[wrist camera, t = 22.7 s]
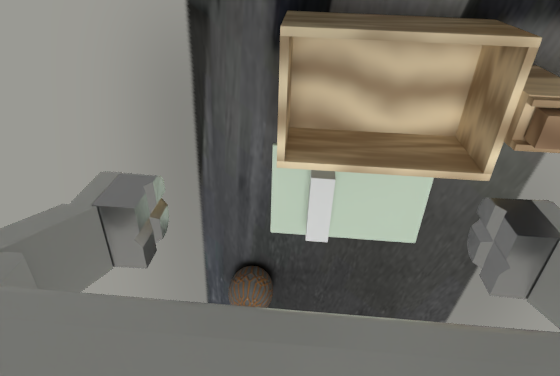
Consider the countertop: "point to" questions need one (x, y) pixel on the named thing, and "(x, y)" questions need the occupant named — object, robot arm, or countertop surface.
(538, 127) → the wooden knobbed block
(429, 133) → the toolbox
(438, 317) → the countertop surface
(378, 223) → the lid
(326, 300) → the countertop surface
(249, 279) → the vase
